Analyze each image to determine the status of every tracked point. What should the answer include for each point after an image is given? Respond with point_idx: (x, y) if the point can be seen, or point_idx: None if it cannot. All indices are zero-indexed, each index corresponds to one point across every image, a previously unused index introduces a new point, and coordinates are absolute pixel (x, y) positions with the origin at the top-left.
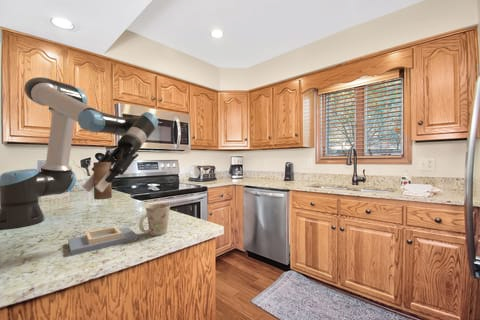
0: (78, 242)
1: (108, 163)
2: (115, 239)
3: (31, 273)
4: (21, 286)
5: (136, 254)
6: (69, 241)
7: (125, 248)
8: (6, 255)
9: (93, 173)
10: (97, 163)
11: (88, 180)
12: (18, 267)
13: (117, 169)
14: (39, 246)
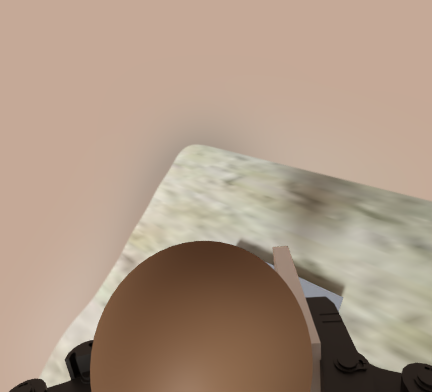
0: None
1: (99, 359)
2: None
3: (222, 179)
4: (187, 156)
5: (80, 318)
6: (312, 284)
7: None
8: (388, 193)
9: (311, 320)
10: (169, 250)
11: (282, 272)
12: (277, 179)
13: (25, 384)
14: (394, 254)
